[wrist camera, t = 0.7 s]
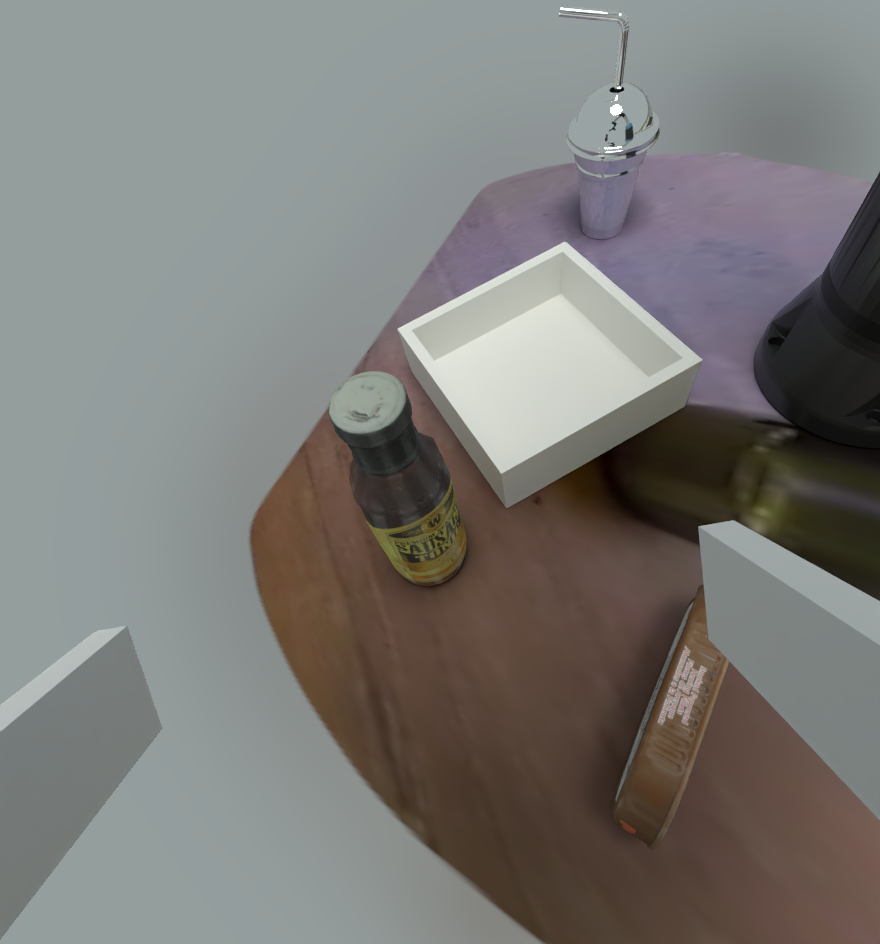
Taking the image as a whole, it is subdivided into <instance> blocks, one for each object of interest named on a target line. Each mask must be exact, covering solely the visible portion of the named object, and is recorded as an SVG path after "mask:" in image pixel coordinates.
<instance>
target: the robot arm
mask: <svg viewBox="0 0 880 944" xmlns="http://www.w3.org/2000/svg"><path fill="white" fill-rule="evenodd" d="M754 368H755V374H756V378H757V381H758V383H759V386H760V388H761V390H762V391H763V393H764V394H765V396H766V397H767V399H768V400H769V401H770V402H771V404H772V405H773V406H774V407H775V408H776V409H777V410H778V411H779V412H780V413H782V414H783V415H784V416H785V417H787V418H788V419H789V420H791V421H792V422H793V423H795V424H797V425H798V426H800V427H802V428H803V429H805V430H807V431H809V432H811V433H813V434H816V435H818V436H820V437H823V438H826V439H829V440H832V441H835V442H838V443H842V444H846V445H852V446H857V447H865V448H880V173H879V174H878V176H877V178H876V180H875V182H874V183H873V185H872V187H871V189H870V190H869V192H868V194H867V196H866V198H865V199H864V201H863V203H862V205H861V207H860V208H859V210H858V212H857V214H856V216H855V217H854V219H853V221H852V223H851V225H850V226H849V228H848V230H847V232H846V233H845V235H844V237H843V239H842V240H841V242H840V244H839V246H838V247H837V249H836V251H835V253H834V255H833V257H832V258H831V260H830V262H829V264H828V265H827V267H826V269H825V270H824V272H823V273H822V274H821V275H820V276H819V277H818V278H817V279H816V280H815V281H813V282H812V283H811V284H810V285H809V286H808V287H807V288H805V289H804V290H803V291H802V292H801V293H800V294H799V295H798V296H796V297H795V298H794V299H793V300H792V301H791V302H790V303H788V304H787V305H786V306H785V307H784V308H783V309H782V310H780V311H779V312H778V313H777V315H776V316H775V317H774V318H773V319H772V321H771V322H770V323H769V325H768V327H767V329H766V330H765V332H764V334H763V336H762V338H761V340H760V342H759V344H758V347H757V349H756V353H755V358H754ZM698 528H699V539H700V550H701V562H702V573H703V584H704V595H705V606H706V617H707V628H708V639H709V640H710V641H711V642H712V643H713V644H714V645H715V646H716V648H717V649H718V650H719V651H720V652H721V653H722V654H723V655H724V656H725V657H726V658H727V659H728V660H729V661H730V662H731V663H732V664H733V666H734V667H735V668H736V669H737V670H738V671H739V672H740V673H741V674H742V675H743V676H744V677H745V678H746V679H747V680H748V681H749V682H750V683H751V685H752V686H753V687H754V688H755V689H756V690H757V691H758V692H759V693H760V694H761V695H762V696H763V697H764V698H765V699H766V700H767V701H768V703H769V704H770V705H771V706H772V707H773V708H774V709H775V710H776V711H777V712H778V713H779V714H780V715H781V716H782V717H783V718H784V719H785V720H786V722H787V723H788V724H789V725H790V726H791V727H792V728H793V729H794V730H795V731H796V732H797V733H798V734H799V735H800V736H801V737H802V738H803V740H804V741H805V742H806V743H807V744H808V745H809V746H810V747H811V748H812V749H813V750H814V751H815V752H816V753H817V754H818V755H819V756H820V758H821V759H822V760H823V761H824V762H825V763H826V764H827V765H828V766H829V767H830V768H831V769H832V770H833V771H834V772H835V773H836V774H837V775H838V777H839V778H840V779H841V780H842V781H843V782H844V783H845V784H846V785H847V786H848V787H849V788H850V789H851V790H852V791H853V792H854V793H855V795H856V796H857V797H858V798H859V799H860V800H861V801H862V802H863V803H864V804H865V805H866V806H867V807H868V808H869V809H870V810H871V811H872V812H873V814H874V815H875V816H876V817H877V818H878V819H879V820H880V601H878V600H877V599H875V598H873V597H871V596H869V595H867V594H866V593H864V592H862V591H860V590H858V589H857V588H855V587H853V586H851V585H849V584H848V583H846V582H844V581H842V580H840V579H839V578H837V577H835V576H833V575H831V574H830V573H828V572H826V571H824V570H822V569H821V568H819V567H817V566H815V565H813V564H812V563H810V562H808V561H806V560H804V559H803V558H801V557H799V556H797V555H795V554H793V553H792V552H790V551H788V550H786V549H784V548H783V547H781V546H779V545H777V544H775V543H774V542H772V541H770V540H768V539H766V538H765V537H763V536H761V535H759V534H757V533H756V532H754V531H752V530H750V529H748V528H747V527H745V526H743V525H741V524H739V523H738V522H736V521H734V520H732V521H727V522H721V523H715V524H709V525H704V526H698ZM161 729H162V726H161V723H160V720H159V718H158V715H157V711H156V709H155V706H154V703H153V700H152V697H151V694H150V691H149V688H148V685H147V682H146V679H145V677H144V673H143V671H142V668H141V665H140V662H139V659H138V656H137V653H136V650H135V647H134V644H133V641H132V638H131V635H130V632H129V630H128V627H127V626H123V627H117V628H111V629H105V630H100V631H95V632H94V633H93V634H92V635H90V636H89V637H88V638H86V639H85V640H84V641H82V642H81V643H80V644H79V645H77V646H76V647H75V648H73V649H72V650H71V651H70V652H68V653H67V654H66V655H64V656H63V657H62V658H60V659H59V660H58V661H57V662H55V663H54V664H53V665H51V666H50V667H49V668H48V669H46V670H45V671H44V672H43V673H41V674H40V675H39V676H37V677H36V678H35V679H34V680H32V681H31V682H30V683H28V684H27V685H26V686H24V687H23V688H22V689H21V690H19V691H18V692H17V693H15V694H14V695H13V696H12V697H10V698H9V699H8V700H6V701H5V702H4V703H2V704H1V705H0V939H1V938H2V936H3V935H4V934H5V933H6V931H7V930H8V929H9V927H10V926H11V925H12V923H13V922H14V921H15V920H16V918H17V917H18V916H19V914H20V913H21V912H22V910H23V909H24V908H25V906H26V905H27V904H28V903H29V901H30V900H31V898H32V897H33V896H34V895H35V894H36V892H37V891H38V890H39V888H40V887H41V886H42V884H43V883H44V882H45V880H46V879H47V878H48V877H49V875H50V874H51V873H52V871H53V870H54V869H55V868H56V866H57V865H58V864H59V862H60V861H61V860H62V858H63V857H64V856H65V854H66V853H67V852H68V851H69V849H70V848H71V847H72V845H73V844H74V843H75V841H76V840H77V839H78V838H79V836H80V835H81V834H82V832H83V831H84V830H85V828H86V827H87V826H88V825H89V823H90V822H91V821H92V819H93V818H94V817H95V815H96V814H97V813H98V811H99V810H100V809H101V808H102V806H103V805H104V804H105V802H106V801H107V800H108V798H109V797H110V796H111V795H112V793H113V792H114V791H115V789H116V788H117V787H118V785H119V784H120V783H121V782H122V780H123V779H124V778H125V776H126V775H127V774H128V772H129V771H130V770H131V768H132V767H133V766H134V765H135V763H136V762H137V761H138V759H139V758H140V757H141V755H142V754H143V753H144V752H145V750H146V749H147V748H148V746H149V745H150V744H151V742H152V741H153V740H154V739H155V737H156V736H157V735H158V733H159V732H160V731H161Z"/></svg>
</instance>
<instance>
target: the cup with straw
mask: <svg viewBox="0 0 880 944" xmlns="http://www.w3.org/2000/svg"><path fill="white" fill-rule="evenodd" d="M559 17H566V18H578V19H588V20H599V21H610V22H617V23H618V24H619V25H620V36H619V45H618V55H617V64H616V75H615V82H614V83H610V84H607V85H604V86H602V87H600V88H599V89H597V90H596V91H595V92H593V93H592V94H591V95H590V96H589V97H588V99H587V100H586V101H585V102H584V104H583V106H582V108H581V110H580V112H579V114H578V116H577V117H576V118H575V119H574V120H573V121H572V122H571V124H570V126H569V128H568V134H567V137H566V142H567V146H568V147H569V149H570V150H571V151H572V152H573V153H574V156H575V161H576V167H577V170H578V182H579V199H580V216H581V222H582V225H581V229H582V232H583V233H584V234H585V235H586V236H588V237H590V238H593V239H609V238H612V237H614V236H616V235H618V234H619V233H620V232H621V231H622V230H623V227H624V221H625V219H626V216H627V213H628V209H629V206H630V202H631V198H632V195H633V191H634V187H635V184H636V180H637V176H638V173H639V169H640V167H641V165H642V163H643V160H644V157H645V156H646V153H647V150H648V149H649V148H651V147H652V146H653V145H654V144H655V142H656V141H657V139H658V137H659V134H660V128H659V119H658V117H657V115H656V114H655V113H654V112H653V111H652V108H651V105H650V102H649V99H648V97H647V95H646V94H645V93H644V92H643V91H642V89H640V88H639V87H637V86H635V85H634V84H631V83H627V82H623V76H624V68H625V59H626V49H627V41H628V32H629V21H628V18H627V17H626V15H625V14H624V13H623V12H621V11H615V10H603V9H593V8H581V7H570V6H561V10H560V14H559Z"/></svg>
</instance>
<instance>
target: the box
mask: <svg viewBox="0 0 880 944" xmlns="http://www.w3.org/2000/svg"><path fill="white" fill-rule="evenodd" d="M398 332H399V335H400V338H401V341H402V344H403V347H404V350H405V353H406V356H407V359H408V362H409V365H410V368H411V371H412V373H413V374H414V376H415V377H416V379H417V380H418V382H419V383H420V385H421V386H422V387H423V389H424V390H425V392H426V393H427V395H428V396H429V398H430V399H431V400H432V402H433V403H434V405H435V406H436V408H437V409H438V411H439V412H440V413H441V415H442V416H443V418H444V419H445V421H446V422H447V424H448V425H449V426H450V428H451V429H452V431H453V432H454V434H455V435H456V437H457V438H458V439H459V441H460V442H461V444H462V445H463V447H464V448H465V450H466V451H467V452H468V454H469V455H470V457H471V458H472V460H473V461H474V463H475V464H476V466H477V467H478V468H479V470H480V471H481V473H482V474H483V476H484V477H485V479H486V480H487V481H488V483H489V484H490V486H491V487H492V489H493V490H494V492H495V493H496V494H497V496H498V497H499V499H500V500H501V502H502V503H503V505H504V506H505V507H506V509H507V508H509V507H510V506H512V505H514V504H516V503H517V502H519V501H521V500H523V499H524V498H526V497H528V496H530V495H531V494H533V493H535V492H537V491H538V490H540V489H542V488H544V487H545V486H547V485H549V484H551V483H552V482H554V481H556V480H557V479H559V478H561V477H563V476H564V475H566V474H568V473H570V472H571V471H573V470H575V469H577V468H578V467H580V466H582V465H584V464H585V463H587V462H589V461H591V460H592V459H594V458H596V457H598V456H599V455H601V454H603V453H605V452H606V451H608V450H610V449H612V448H613V447H615V446H617V445H619V444H620V443H622V442H624V441H625V440H627V439H629V438H631V437H632V436H634V435H636V434H638V433H639V432H641V431H643V430H645V429H646V428H648V427H650V426H652V425H653V424H655V423H657V422H659V421H660V420H662V419H664V418H666V417H667V416H669V415H671V414H673V413H674V412H676V411H678V410H680V409H681V408H683V407H685V405H686V402H687V399H688V397H689V394H690V392H691V389H692V387H693V384H694V381H695V379H696V376H697V374H698V371H699V369H700V366H701V363H702V361H703V360H702V359H701V358H700V357H699V356H698V355H696V354H695V353H694V352H693V351H692V350H691V349H689V348H688V347H687V346H686V345H685V344H684V343H683V342H681V341H680V340H679V339H678V338H677V337H676V336H674V335H673V334H672V333H671V332H670V331H669V330H667V329H666V328H665V327H664V326H663V325H662V324H660V323H659V322H658V321H657V320H656V319H655V318H654V317H652V316H651V315H650V314H649V313H648V312H647V311H645V310H644V309H643V308H642V307H641V306H640V305H638V304H637V303H636V302H635V301H634V300H633V299H631V298H630V297H629V296H628V295H627V294H626V293H625V292H623V291H622V290H621V289H620V288H619V287H618V286H616V285H615V284H614V283H613V282H612V281H611V280H609V279H608V278H607V277H606V276H605V275H604V274H602V273H601V272H600V271H599V270H598V269H597V268H596V267H594V266H593V265H592V264H591V263H590V262H589V261H587V260H586V259H585V258H584V257H583V256H582V255H580V254H579V253H578V252H577V251H576V250H575V249H573V248H572V247H571V246H570V245H569V244H568V243H567V242H563V243H561V244H559V245H558V246H556V247H554V248H552V249H550V250H548V251H546V252H544V253H542V254H540V255H538V256H536V257H534V258H533V259H531V260H529V261H527V262H525V263H523V264H521V265H519V266H517V267H515V268H513V269H511V270H510V271H508V272H506V273H504V274H502V275H500V276H498V277H496V278H494V279H492V280H490V281H488V282H486V283H485V284H483V285H481V286H479V287H477V288H475V289H473V290H471V291H469V292H467V293H465V294H463V295H461V296H460V297H458V298H456V299H454V300H452V301H450V302H448V303H446V304H444V305H442V306H440V307H438V308H437V309H435V310H433V311H431V312H429V313H427V314H425V315H423V316H421V317H419V318H417V319H415V320H413V321H412V322H410V323H408V324H406V325H404V326H402V327H400V328H398Z"/></svg>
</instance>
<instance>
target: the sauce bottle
mask: <svg viewBox="0 0 880 944" xmlns="http://www.w3.org/2000/svg"><path fill="white" fill-rule="evenodd" d="M411 409H412V408H411V403H410V400H409V398H408V395H407V393H406V390H405V388H404V386H403V385H402V383H401V382H400V380H399V379H397V378H396V377H394V376H393V375H391V374H388V373H384V372H374V371H369V372H363V373H360V374H357V375H355V376H352V377H350V378H349V379H348V380H346V381H345V382H344V383H343V384H341V385H340V386H339V387H338V388H337V389H336V390H335V392H334V393H333V395H332V397H331V399H330V405H329V416H330V419H331V421H332V423H333V426H334V429H335V432H336V433H337V434H338V436H339V437H340V438H341V439H342V440H344V442H345V443H347V444H348V446H349V448H350V449H351V451H352V455H353V460H352V463H351V466H350V483H351V487H352V493H353V496H354V498H355V500H356V502H357V503H358V505H359V506H360V510H361V512H362V514H363V516H364V518H365V520H366V521H367V523H368V525H369V526H370V528H371V530H372V532H373V533H374V535H375V537H376V538H377V540H378V542H379V543H380V545H381V547H382V548H383V550H384V551H385V553H386V554H387V556H388V558H389V559H390V561H391V562H392V564H393V566H394V567H395V569H396V570H397V571H398V572H399V573H400V574H401V575H402V577H404V578H405V579H407V580H408V581H409V582H412V583H414V584H417V585H422V586H432V585H436V584H440V583H443V582H445V581H447V580H449V579H450V578H451V577H453V576H455V574H456V573H457V571H458V570H459V568H460V566H461V565H462V563H463V560H464V557H465V555H466V544H467V542H466V534H465V530H464V526H463V523H462V519H461V515H460V511H459V508H458V504H457V500H456V496H455V492H454V488H453V484H452V480H451V476H450V473H449V471H448V468H447V466H446V464H445V462H444V460H443V458H442V456H441V454H440V452H439V450H438V447H437V445H436V443H435V441H434V439H433V438H432V437H429V436H426V435H424V434H422V433H418V431H417V429H416V428H415V426H414V424H413V422H412V419H411V415H412V411H411Z"/></svg>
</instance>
